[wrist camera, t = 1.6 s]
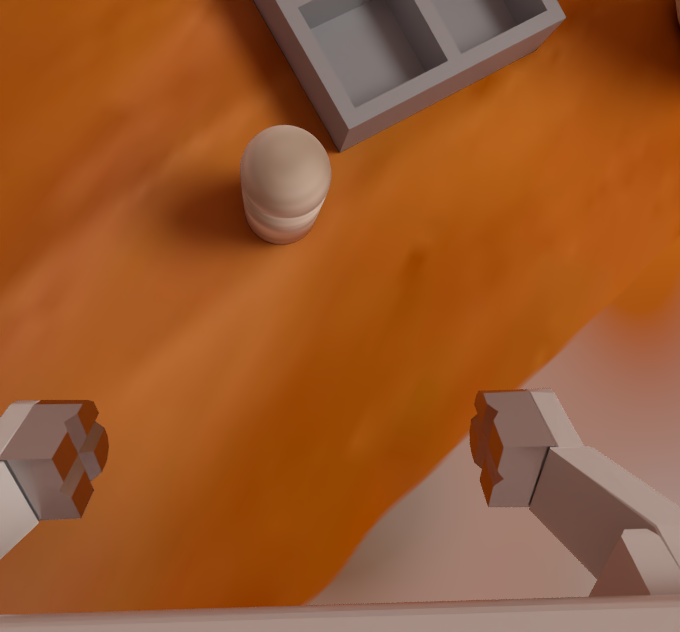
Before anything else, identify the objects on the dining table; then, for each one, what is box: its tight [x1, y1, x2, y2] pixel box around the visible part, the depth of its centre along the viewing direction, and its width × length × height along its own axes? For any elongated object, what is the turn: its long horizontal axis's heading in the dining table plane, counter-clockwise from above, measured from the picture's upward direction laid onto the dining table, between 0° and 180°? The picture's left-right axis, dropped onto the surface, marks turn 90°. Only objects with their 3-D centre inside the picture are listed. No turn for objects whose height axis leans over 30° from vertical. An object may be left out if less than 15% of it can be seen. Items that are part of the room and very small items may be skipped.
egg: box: [240, 125, 331, 245], centre depth 29 cm, size 5×5×10 cm
